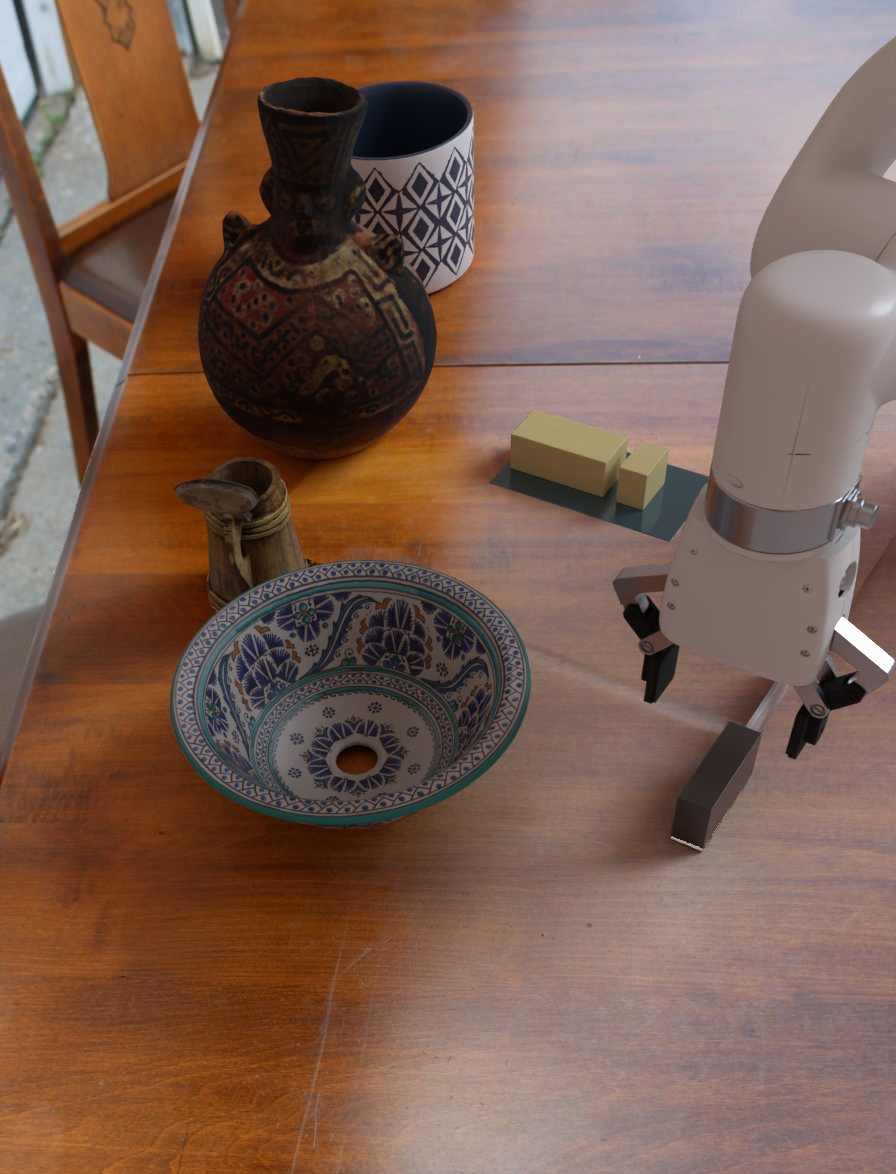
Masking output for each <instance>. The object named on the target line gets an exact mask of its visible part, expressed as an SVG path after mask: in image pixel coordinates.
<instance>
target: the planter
mask: <svg viewBox="0 0 896 1174" xmlns="http://www.w3.org/2000/svg"><path fill="white" fill-rule="evenodd" d="M355 89H356V90H358V91H360V93H361V94H363V95H365V96H366V98H367V100H368V108H367V112H366V116H365V119H364V120H363V123H362V126H361V129H360V131H359V134H358V137H357V140H356V142H355V145H354V149H353V154H352V159H351V165H352V167H353V169H354V170H356V171H357V172H358V173H359V175H360V176H361V177H362V179H363V181H364V183H365V186H366V198H365V202H364V204H363V206H362V207H361V209H360V210H359V211H358V212H357V213H356V214H355V215H354V217H353V218H352V219H351V220H352V221H354V222H356V223H358V224H359V225H361V226H363V227H365V228H366V229H368V230H369V231H371V232H373V233H374V234H376V235H379V234H383V233H391V234H394V235H396V236H398V237H399V238H400V239H401V240H402V242H403V245H404V252H405V255H404V258H405V259H406V260H407V261H408V262H409V264H410V265H411V266H412V267H413V268H414V269H415V271H416V272H417V274H418V275H419V277H420V279H421V280H422V282H423V284H424V286H425V289H426V291H427V294H428V295H430V294H434V293H436V292H438V291H441V290H443V289H444V288H446V287H448V286H450V285H451V284H453V283H455V282H456V281H457V280H459V278H461V277H462V276H464V274H465V273H466V272H467V271H468V270H469V268H470V266H471V264H472V263H473V260H474V257H475V145H474V144H475V140H474V139H475V136H474V135H475V134H474V133H475V132H474V128H475V127H474V108H473V106H472V104H471V102H470V101H469V100H468V97H466V96H465V95H464V94H462V93H461V92H459V91H457V90H455V89H453V88H451V87H448V86H446V85H443V84H438V83H434V82H427V81H420V80H419V81H417V80H396V81H387V82H381V83H374V84H370V85H365V86H362V87H359V88H355Z"/></svg>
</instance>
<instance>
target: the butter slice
mask: <svg viewBox="0 0 896 1174" xmlns="http://www.w3.org/2000/svg"><path fill="white" fill-rule="evenodd" d="M669 451H670V448H668V447H665V446H662V445H658V444H655V443H651V442H648V441H644V440H641V441H640V442H639V443H638V444H637V446H636V447H635V448H634V449H633V450H632V451H631V452H630V453H631V454H630V455H629V457H628V458H627V459H626V460H625V461H624V463H623V464H622V465H621V466H620V468H619V478H618V488H617V498H616V502H618V503H621V504H625V505H628V506H631V507H634V508H637V509H640V510H644V508H645V507H646V506H647V505H648V503H649V502H650V501H651V500H652V498H653V497H654V496H655V495H656V493H657V492H658V491H659V490H660V488H661V487H662V486H663V485H664V483H665V475H666V468H667V464H668V461H669V460H668V459H669Z"/></svg>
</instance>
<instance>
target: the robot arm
mask: <svg viewBox="0 0 896 1174" xmlns="http://www.w3.org/2000/svg"><path fill="white" fill-rule="evenodd" d="M895 161H896V35H895V36H894V37H893V38H891V39H889V41H888V42H886V43H885V44H883V46H881V47H880V48H879V49H878V50H876V51H875V52H874V53H873V54H872V55H871V56H870V57H869V58H868V59H867V60H866V61H865V62H864V63H863V64H861V66H860V67H859V68H857V70H856V71H855V72H854V73H853V74H852V75H851V76H850V77H849V78H848V80H846V82H845V83H844V84H843V86H842V87H841V88H840V90H838V92H837V93H836V95H835V97H834V98H833V99H832V100H831V102H830V103H829V105H828V106H827V108H826V109H825V111H824V112H823V114H822V115H821V116H820V118H819V120H818V122H817V123H816V125H815V127H814V128H813V130H812V131H811V133H810V134H809V136H808V137H807V139H806V140H805V142H804V144H803V145H802V147H801V149H800V150H799V152H798V153H797V155H796V156H795V158H794V160H793V161H792V163H791V164H790V166H789V167H788V169H787V170H786V173H784V176H783V178H782V179H781V181H780V183H779V184H778V187H777V188H776V190H775V192H774V194H773V196H772V198H771V199H770V202H769V203H768V205H767V206H766V209H765V211H764V214H763V216H762V217H761V220H760V223H759V225H758V228H757V230H756V233H755V237H754V240H753V242H752V248H751V251H750V252H751V253H750V261H749V273H750V279H751V280H750V281H749V283H748V285H747V286H746V287H745V289H744V291H743V294H742V296H741V298H740V302H739V306H738V310H737V315H736V319H735V325H734V331H733V337H732V343H731V347H730V354H729V359H728V365H727V371H726V377H725V382H724V389H723V394H722V399H721V405H720V411H719V417H718V422H717V427H716V433H715V439H714V446H713V450H712V451H713V452H712V456H711V462H710V468H709V474H708V476H709V480H708V482H707V483H706V484H705V485H704V486H703V488H702V489H701V491H700V493H699V495H698V496H697V498H696V499H695V501H694V504H693V506H692V508H691V510H690V512H689V515H688V517H687V519H686V522H685V524H684V525H683V526H682V529H681V533H680V535H679V538H678V541H677V543H676V547H675V550H674V553H673V557H672V560H671V562H666V563H655V564H645V565H635V566H626V567H623V568H622V569H621V570H620V572H619V573H618V574H617V575H616V577H615V578H614V579H613V580H612V586H613V589H614V591H615V594H616V596H617V598H618V601H619V604H620V606H622V607H623V612H622V616H623V618H624V621H625V622H626V623H627V624H628V626H629V627H630V629H632V631H633V632H634V634H635V635H636V636H637V638H638V639H639V642H638V643H637V647H638V649H639V651H640V652H641V653H642V654H643V662H642V669H641V676H640V680H641V681H643V682H645V688H644V695H643V702H645V703H648V704H650V705H652V704H653V703H654V704H656V703H657V701H658V700H659V699H660V697H661V696H662V695H663V693H664V692H665V691H666V689H667V688H668V687H669V685H670V683H671V682H672V681H673V680H674V677H675V676H676V675H675V674H676V671H677V663H678V658H679V652H680V647H681V648H683V649H685V650H688V651H690V652H693V653H696V654H698V655H701V656H704V657H706V658H709V659H711V660H714V661H717V662H719V663H722V664H725V665H728V666H730V667H733V668H735V669H739V670H742V671H744V672H747V673H750V674H752V675H755V676H758V677H762V678H764V679H767V680H769V681H772V682H775V681H776V682H779V683H783V684H787V685H791V686H792V687H793V688H794V690H795V692H796V694H797V695H798V698H799V699H800V700H801V701H802V704H801V706H800V708H799V709H798V711H797V712H796V715H795V718H794V720H793V724H792V728H791V731H790V735H789V739H788V742H787V746H786V749H785V752H784V754H786V756H787V758H789V759H792V760H795V761H796V760H797V759H798V757H799V756H800V754H801V752H802V751H803V749H804V748H805V746H806V744H809V745H812V746H816V745H818V742H819V740H820V739H821V737H822V735H823V733H824V731H825V729H826V725H827V722H828V720H829V716H830V713H831V712H832V711H835V710H838V709H839V710H840V709H843V708H846V707H850V706H853V705H857V704H859V703H861V702H862V700H863V699H864V698H865V697H867V696H868V695H870V694H872V693H874V692H875V691H876V690H877V689H879V688H880V687H882V686H884V685H885V684H886V683H887V682H888V681H889V680H890V678H891V676H892V675H893V673H894V672H895V670H896V660H895V658H893V657H892V656H891V655H889V654H888V653H887V652H886V651H885V650H884V649H882V647H880V646H879V645H877V644H876V643H875V642H874V641H872V640H871V639H870V638H869V637H868V636H867V635H866V634H865V633H863V632H862V631H861V630H860V629H859V628H857V627H856V626H855V625H854V624H853V623H851V622H850V621H849V617H850V612H851V607H852V603H853V597H854V592H855V587H856V581H857V576H858V569H859V561H860V550H861V528H862V529H865V530H870V529H871V528H872V527H873V524H874V523H875V521H876V519H877V516H878V514H879V511H880V504H878V503H875V502H872V501H868V498H867V497H864V496H862V489H860V485H861V482H862V478H863V475H861V474H860V473H861V469H862V465H863V462H864V459H865V455H866V452H867V448H868V444H869V441H870V437H871V434H872V431H873V426H874V423H875V420H876V415H877V413H878V411H879V410H880V409H881V407H882V406H884V405H885V404H887V403H890V402H893V401H896V181H894V180H891V179H888V178H886V177H884V176H885V174H886V172H887V171H888V170H889V168H890V167H891V166H892V165H893V163H894V162H895ZM659 592H660V593H661V592H663V593H662V596H661V602H660V607H659V608H658V607H657V605H656V603H655V602H654V601H653V600H652V599H651V597H650V596H649V595H647V594H649V593H659ZM830 652H833V653H834V652H835V653H836V654H837V655H838V656H840V657H841V658H842V659H843V660H845V661H846V663H848V664H850V666H852V667H853V668H854V669H855V670H856V671H852V672H849V673H846V674H843V675H842V673H841V672H840V670H839V669H838V667H837V665H836V663H835V662H834V660H833V658H832V656H831V655H830Z"/></svg>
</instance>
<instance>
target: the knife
mask: <svg viewBox="0 0 896 1174" xmlns="http://www.w3.org/2000/svg"><path fill="white" fill-rule="evenodd" d="M791 686H792V685H787V684H783V683H779V682H776V681H773V684H772V686H771V687H770V688H769V690H768V692H767V693H766V694H765V696H764V697H763V698H762V701H761V702H760V703H759V705H758V707H757V708H756V709H755V711H754V713H753V714H752V716H751V717H750V719H748V721H747V723H746V725H741V724H738V723H736V722H734V721H731V720H729V721H728V722H727V723H726V725H725V726H724V728H723V729H722V731H721V732H720V734H719V735H718V737H717V738H716V740H715V742H714V743H713V744H712V746H711V747H710V749H709V750H708V751H707V753H706V755H705V756H704V758H703V759H702V761H701V762H700V763H699V764H698V766H697V768H696V769H695V771H694V773H693V774H692V775H691V777H690V778H689V780H688V781H687V783H686V785H684V787H683V788H682V790H681V791H680V793H679V795H678V796H677V799H676V804H675V810H674V815H673V821H672V826H671V831H670V836H673V837H675V838H677V839H680V840H683V841H686V842H687V843H691V844H693V845H695V846H699V847H700V848H702V849H703V848H704V846H705V845H706V843H707V842H708V840H709V839H710V837H711V836H712V834H713V833H714V831H715V830H716V828H717V826H718V825H719V823H720V822H721V820H722V819H723V817H724V816H725V814H726V813H727V811H728V810H729V808H730V806H731V805H732V804H733V802H734V801H735V799H736V798H737V796H738V795H739V796H740V794H741V793H740V791H741V790H742V788H743V787H744V785H745V784H746V782H747V781H748V779H749V778H750V779H751V777H752V776H753V771H754V768H755V763H756V760H757V756H758V752H759V747H760V743H761V739H762V735H763V733H764V730H763V728H764V727H765V725H766V724H767V722H768V721H769V719H770V718H771V716H772V715H773V713H774V712H775V710H776V709H777V707H778V705H779V704H780V702H781V701H782V699H784V696H785V695H786V693H787V692H788V690H789V689H790V687H791ZM762 732H763V733H762ZM751 775H752V776H751ZM750 776H751V777H750ZM750 779H749V780H750ZM748 782H749V781H748ZM748 782H747V783H748ZM746 785H747V784H746ZM746 785H745V786H746ZM744 788H745V787H744ZM744 788H743V789H744ZM742 791H743V790H742ZM742 791H741V792H742ZM739 793H740V794H739ZM739 796H738V797H739ZM737 799H738V798H737ZM737 799H736V800H737ZM735 802H736V801H735ZM735 802H734V803H735ZM733 805H734V804H733ZM733 805H732V806H733ZM730 809H731V808H730ZM729 811H730V810H729ZM729 811H728V812H729ZM727 814H728V813H727ZM725 817H726V816H725ZM723 820H724V819H723ZM721 823H722V822H721ZM719 826H720V825H719ZM716 831H717V830H716ZM714 834H715V833H714ZM712 837H713V836H712ZM710 840H711V839H710ZM708 843H709V842H708Z"/></svg>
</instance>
